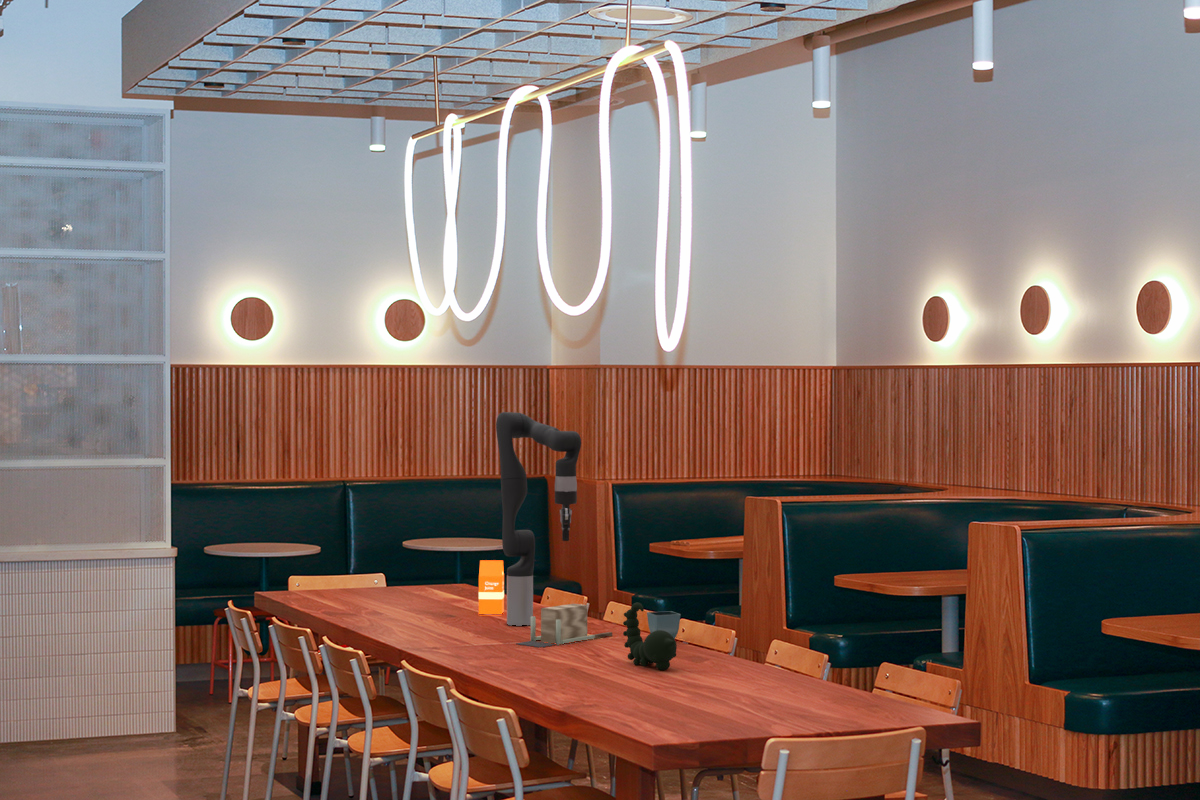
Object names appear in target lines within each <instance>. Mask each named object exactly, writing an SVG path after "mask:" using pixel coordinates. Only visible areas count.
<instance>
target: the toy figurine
mask: <svg viewBox="0 0 1200 800" xmlns="http://www.w3.org/2000/svg"><path fill="white" fill-rule="evenodd" d="M639 611H641V612H644V605H643V604H642V603H641V602H635V603H632V604H631V606H630V609H627V611H626V612H624V613H623V617H624V618H626V620H624V621H623V623H622V624H623V626H624V627H626V631H623V633H622V635H623V636H625V637H627V640H626V641H625V642H624V648H625V649H626V648H627V649H628V648H629V653H628V654H627V659H628V660H629V661H632V662H633V664H634V665H635V666H639V665H641V666H643V667H647V666H648V665H652V664H655V668H656V669H657V670H659V671H666V670H668V669H669V668H670V667H671V662H670V661H671V660H672V659H674V658H676V657H677V648H678V645H677V643H676V642H677V641H676V638H675V639H674V638H673V636H672V635H671V634H670V633H668V632H666V631H663V630H657V631H654V632H652V633H651V632H650V633H649V634H648V635H647V636H646V638H645V639H644V641H643V638H642V636H641V629H640V627H639V625H640V622H639V621H640V620H639V619H638V612H639Z"/></svg>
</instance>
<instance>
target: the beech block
mask: <svg viewBox="0 0 1200 800" xmlns="http://www.w3.org/2000/svg"><path fill="white" fill-rule="evenodd" d="M557 619H560V620H561V640H565V639H570V638H576V637H582V636H588V605H587V604H580V603H569V604H561V605H555V606H548V607H541V609H540V636H541V641H540V642H543V643H544V642H548V643H550V644H551V643H556V620H557Z"/></svg>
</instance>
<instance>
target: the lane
mask: <svg viewBox="0 0 1200 800" xmlns="http://www.w3.org/2000/svg"><path fill="white" fill-rule="evenodd" d="M593 635H595V638H598V639H600V638H599V637H604V638H606V637H605V636H610V637H613V631H612V632H611V631H607V632H600V633H595V634H593Z"/></svg>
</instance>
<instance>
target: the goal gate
mask: <svg viewBox="0 0 1200 800" xmlns="http://www.w3.org/2000/svg"><path fill="white" fill-rule="evenodd" d="M536 621H537V617H536V616H535V615H533V616H531V625H530V641H536V640H541V635H537V636H536V633H537V631H536V626H537V625H536ZM593 638H595V635H594V634H589V635H588V634H587V636H582V637H576V638H570V639H565V640H561V620H560V619H557V620H556V644H557V645H556V646H560V645H559V644H561V645H562V644H564V643H569V642H574V641H581V640H587V639H593ZM593 640H594V639H593ZM587 641H588V640H587ZM536 642H537V641H536ZM581 642H582V641H581ZM564 645H565V644H564Z"/></svg>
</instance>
